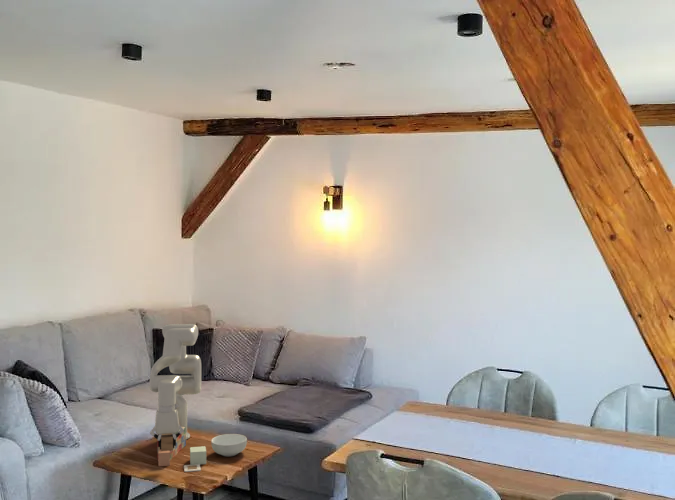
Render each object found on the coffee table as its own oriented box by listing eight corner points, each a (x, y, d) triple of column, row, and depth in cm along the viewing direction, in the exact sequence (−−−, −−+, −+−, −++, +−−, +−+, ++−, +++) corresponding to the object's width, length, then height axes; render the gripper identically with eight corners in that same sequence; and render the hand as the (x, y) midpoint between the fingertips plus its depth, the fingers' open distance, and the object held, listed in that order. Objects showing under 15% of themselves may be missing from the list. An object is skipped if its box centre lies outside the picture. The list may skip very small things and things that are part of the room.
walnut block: (161, 447, 295) (161, 434, 294) (172, 446, 296) (172, 433, 296) (161, 451, 290) (161, 437, 289) (172, 450, 291) (172, 437, 291)
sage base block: (189, 460, 304) (189, 447, 304) (205, 458, 306) (205, 446, 306) (190, 465, 298) (190, 452, 297) (206, 464, 299) (206, 451, 299)
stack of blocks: (173, 444, 326) (173, 420, 325) (186, 445, 325) (186, 420, 325) (157, 459, 304) (157, 433, 304) (170, 460, 304) (170, 434, 303)
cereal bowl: (222, 446, 324) (222, 431, 324) (252, 450, 319) (252, 435, 319) (204, 457, 308) (204, 442, 308) (236, 461, 303) (236, 446, 303)
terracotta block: (158, 462, 301) (158, 449, 300) (169, 461, 302) (169, 448, 302) (158, 466, 296) (158, 453, 296) (169, 465, 297) (170, 452, 297)
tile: (183, 466, 296) (183, 464, 296) (199, 465, 298) (199, 463, 298) (184, 472, 289) (184, 470, 289) (200, 470, 291) (200, 469, 291)
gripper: (186, 404, 298) (186, 443, 299) (147, 406, 293) (147, 446, 294) (187, 409, 290) (186, 449, 292) (146, 411, 286) (147, 452, 287)
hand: (167, 447), depth 293 cm, fingers closed on walnut block, 5 cm apart
